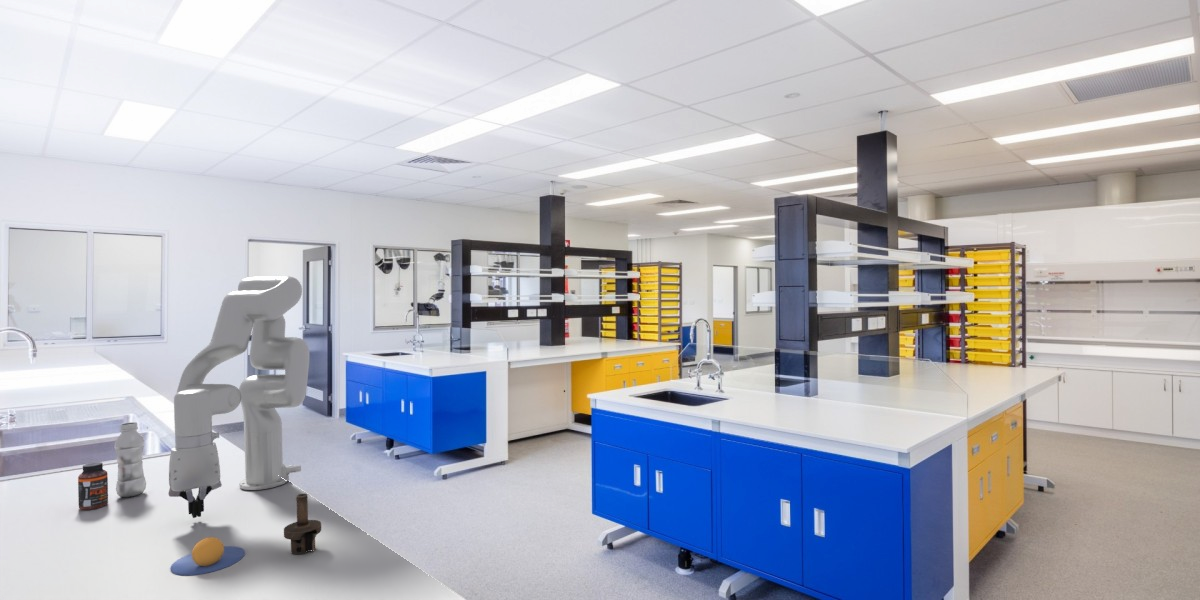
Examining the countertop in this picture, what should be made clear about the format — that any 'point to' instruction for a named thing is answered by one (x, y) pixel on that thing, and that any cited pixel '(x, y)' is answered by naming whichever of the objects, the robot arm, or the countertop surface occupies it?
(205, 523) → the countertop surface
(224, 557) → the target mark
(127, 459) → the plastic bottle
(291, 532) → the industrial component
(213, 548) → the ball
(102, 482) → the supplement bottle
